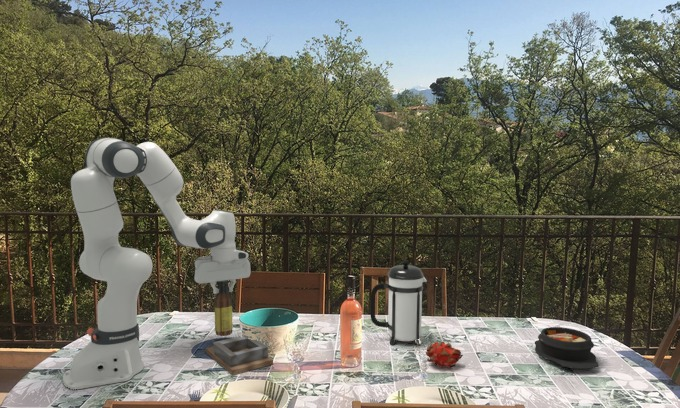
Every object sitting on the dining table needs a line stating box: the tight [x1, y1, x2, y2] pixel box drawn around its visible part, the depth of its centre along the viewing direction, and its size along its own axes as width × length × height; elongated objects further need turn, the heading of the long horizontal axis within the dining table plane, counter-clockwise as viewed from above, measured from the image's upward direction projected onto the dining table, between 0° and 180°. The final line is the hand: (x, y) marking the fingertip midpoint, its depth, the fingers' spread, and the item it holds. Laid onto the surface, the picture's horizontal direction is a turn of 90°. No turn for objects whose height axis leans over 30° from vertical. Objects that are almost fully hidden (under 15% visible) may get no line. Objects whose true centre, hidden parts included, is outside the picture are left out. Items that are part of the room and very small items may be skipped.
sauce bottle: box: [214, 280, 234, 337], centre depth 177 cm, size 6×6×20 cm
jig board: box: [205, 336, 274, 376], centre depth 162 cm, size 14×22×5 cm, turn 37°
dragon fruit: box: [425, 341, 464, 369], centre depth 156 cm, size 8×8×12 cm
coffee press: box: [369, 259, 428, 346], centre depth 177 cm, size 17×16×30 cm
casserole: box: [534, 326, 600, 370], centre depth 162 cm, size 25×19×8 cm
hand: (223, 292), depth 176 cm, fingers closed on sauce bottle, 4 cm apart
